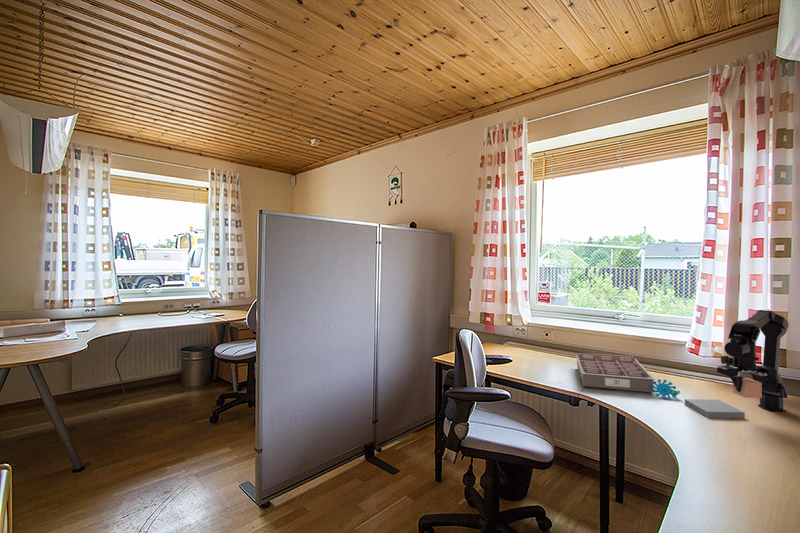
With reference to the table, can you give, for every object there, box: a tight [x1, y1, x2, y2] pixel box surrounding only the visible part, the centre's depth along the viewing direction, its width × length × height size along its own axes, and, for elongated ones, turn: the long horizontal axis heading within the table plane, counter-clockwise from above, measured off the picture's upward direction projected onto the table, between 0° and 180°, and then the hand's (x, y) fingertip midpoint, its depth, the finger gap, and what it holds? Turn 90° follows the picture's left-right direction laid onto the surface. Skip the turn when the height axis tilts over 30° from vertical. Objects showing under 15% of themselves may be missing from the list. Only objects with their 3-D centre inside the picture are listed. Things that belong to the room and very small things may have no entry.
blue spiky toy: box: [651, 378, 681, 400], centre depth 175 cm, size 11×6×10 cm
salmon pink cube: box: [732, 377, 762, 399], centre depth 148 cm, size 6×6×6 cm
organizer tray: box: [575, 352, 656, 393], centre depth 201 cm, size 32×40×10 cm
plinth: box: [684, 398, 746, 419], centre depth 157 cm, size 14×14×2 cm
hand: (746, 391), depth 148 cm, fingers closed on salmon pink cube, 6 cm apart
